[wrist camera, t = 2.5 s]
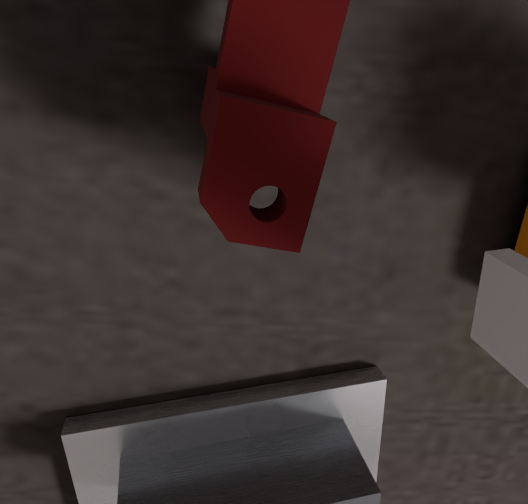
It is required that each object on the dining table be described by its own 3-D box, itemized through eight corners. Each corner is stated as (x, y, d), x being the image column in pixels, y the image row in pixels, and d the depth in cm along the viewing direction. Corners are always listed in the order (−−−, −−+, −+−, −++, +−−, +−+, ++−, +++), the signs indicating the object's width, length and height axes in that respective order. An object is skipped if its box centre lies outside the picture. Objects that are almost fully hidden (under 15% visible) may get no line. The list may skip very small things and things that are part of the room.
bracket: (193, 235, 12) (294, -282, 9) (187, 178, 17) (249, -159, 14) (299, 252, 13) (433, -220, 9) (263, 193, 18) (340, -125, 14)
